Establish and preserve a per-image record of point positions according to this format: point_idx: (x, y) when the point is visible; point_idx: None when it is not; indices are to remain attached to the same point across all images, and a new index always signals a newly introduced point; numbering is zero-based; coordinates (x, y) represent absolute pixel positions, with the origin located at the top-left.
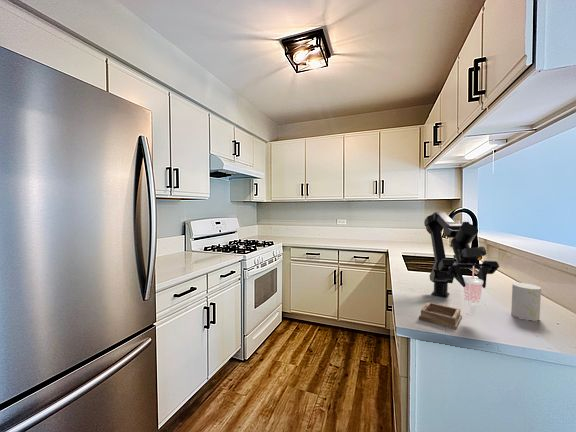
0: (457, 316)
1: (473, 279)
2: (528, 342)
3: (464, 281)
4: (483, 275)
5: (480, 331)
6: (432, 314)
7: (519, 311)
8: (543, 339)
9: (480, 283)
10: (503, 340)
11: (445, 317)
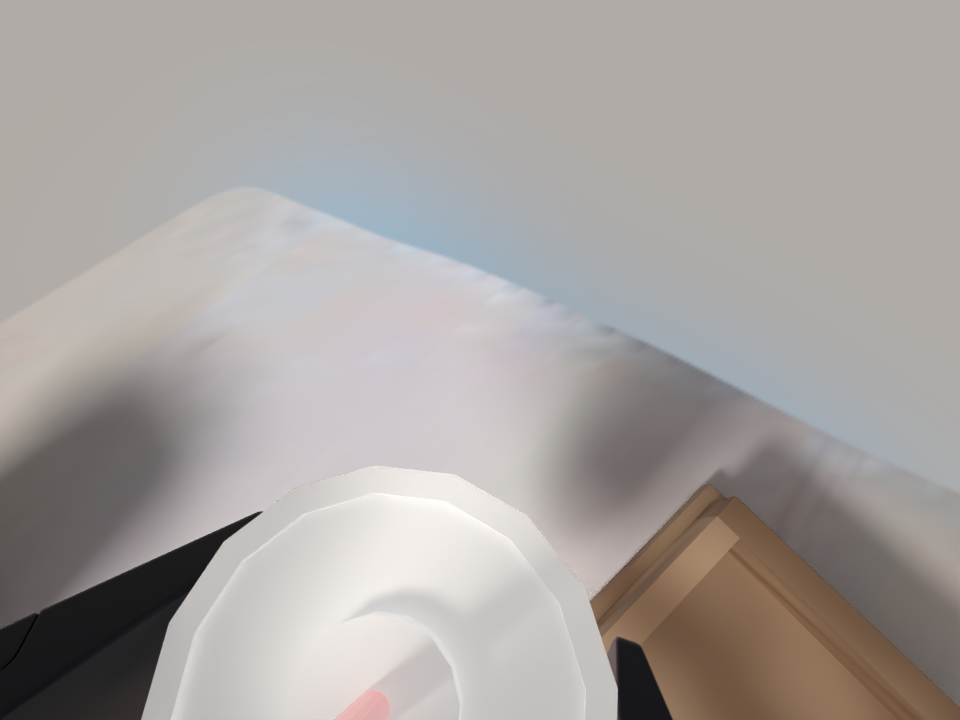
0: (636, 593)
1: (396, 667)
2: (343, 281)
3: (624, 716)
4: (5, 690)
5: (526, 440)
6: (902, 662)
7: None
8: (213, 304)
9: (378, 478)
10: (474, 314)
11: (798, 560)
